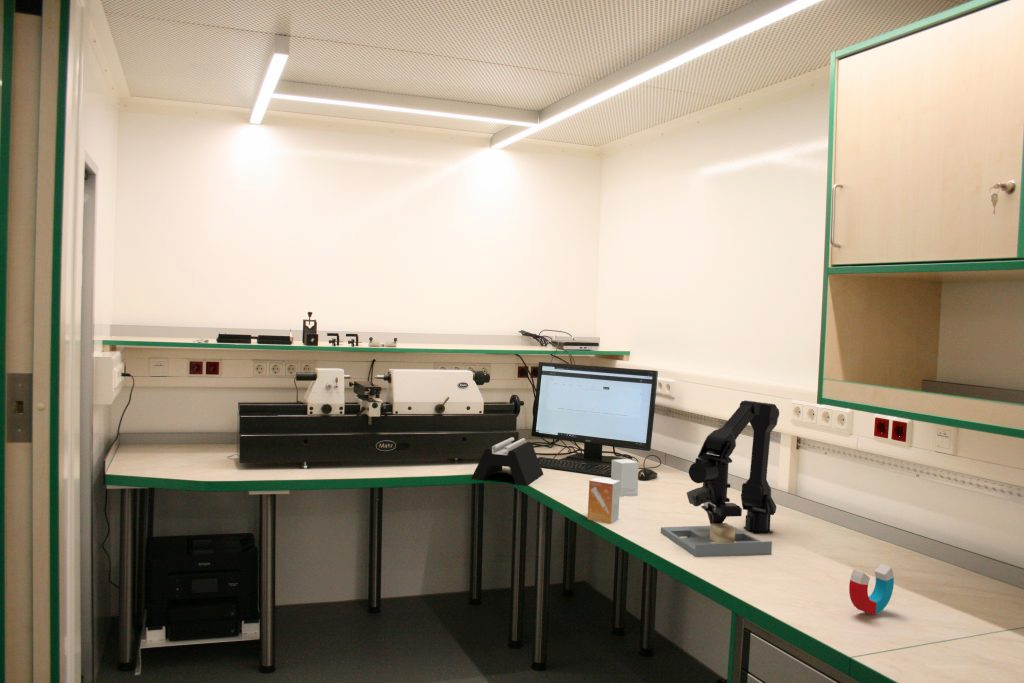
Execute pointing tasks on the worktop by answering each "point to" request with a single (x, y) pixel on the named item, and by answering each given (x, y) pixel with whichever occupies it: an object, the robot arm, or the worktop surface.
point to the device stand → (510, 461)
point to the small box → (603, 500)
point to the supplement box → (626, 476)
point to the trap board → (707, 548)
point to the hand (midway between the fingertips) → (714, 532)
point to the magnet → (878, 596)
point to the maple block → (722, 533)
